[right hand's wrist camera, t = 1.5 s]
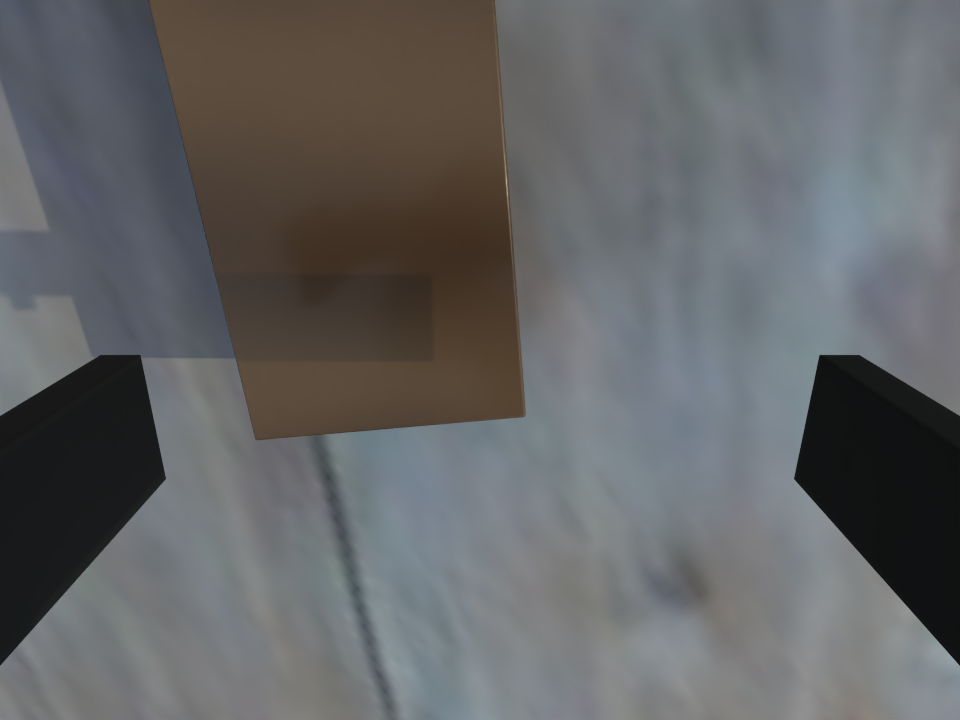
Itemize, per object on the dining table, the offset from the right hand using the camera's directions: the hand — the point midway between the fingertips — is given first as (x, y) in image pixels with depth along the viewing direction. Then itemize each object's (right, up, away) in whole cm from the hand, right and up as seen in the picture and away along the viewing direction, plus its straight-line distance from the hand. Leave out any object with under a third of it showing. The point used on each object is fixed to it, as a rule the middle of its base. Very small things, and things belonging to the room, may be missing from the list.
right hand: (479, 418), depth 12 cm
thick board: (-6, +32, +3) cm, 32 cm away
